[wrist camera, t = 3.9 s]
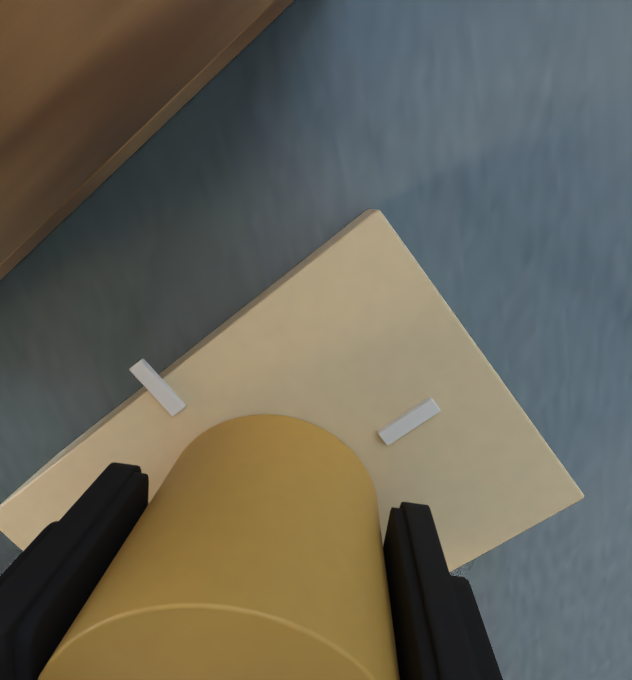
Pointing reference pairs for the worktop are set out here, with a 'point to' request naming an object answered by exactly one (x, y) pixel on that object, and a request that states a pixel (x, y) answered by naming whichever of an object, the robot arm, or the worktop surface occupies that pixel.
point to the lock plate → (337, 400)
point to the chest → (98, 93)
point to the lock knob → (245, 569)
